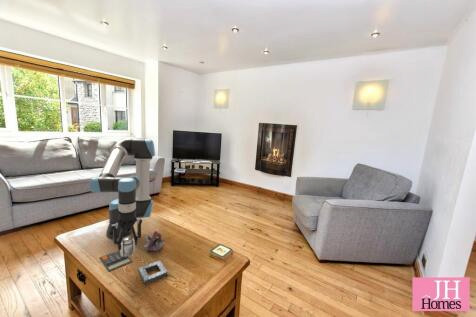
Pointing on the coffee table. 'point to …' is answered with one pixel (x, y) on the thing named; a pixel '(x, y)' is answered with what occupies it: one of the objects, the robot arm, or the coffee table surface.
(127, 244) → the piston
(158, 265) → the bore plate
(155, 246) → the brake caliper
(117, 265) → the calculator
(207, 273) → the coffee table surface
